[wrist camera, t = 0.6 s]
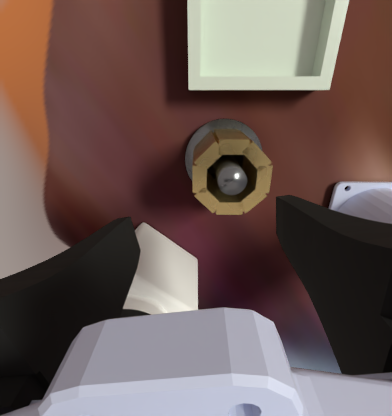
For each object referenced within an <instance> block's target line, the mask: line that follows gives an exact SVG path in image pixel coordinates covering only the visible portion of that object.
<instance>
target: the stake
mask: <svg viewBox="0 0 392 416" xmlns="http://www.w3.org/2000/svg"><path fill="white" fill-rule="evenodd" d="M214 129H238V130H240V131H241V132H243V133H244V134H245V135H246V136H248V137H249V138H250V139H251V140H252V141H254V143H255V144H256V145H257V146H258V147H259V148H260V149H261V151H262V148H261V144H260V141H259V139H258V137H257V136H256V134H255V133H254V132H253V131H252V130H251V129H250V128H249V127H248V126H246V125H245V124H243V123H241V122H239V121H236V120H233V119H217V120H213V121H210V122H208V123H206V124H204V125H203V126H201V127H200V128H199V129H198V130H197V131H196V132H195V133H194V134H193V136H192V137H191V139H190V141H189V143H188V146H187V149H186V154H185V165H186V169H187V172H188V175H189V177H190V179H191V180H192V181H193V173H192V165H193V149H195V146H196V145H197V144H198V143H199V142H200V140H201V139H202V138H203V137H204V136H205V135H206V134H207V133H208V132H209V131H210V130H211V131H212V132H213V133H214ZM242 164H243V155H222V156H221V157H220V158H218V159H217V160H216V161H215V162H214V163H213V164H212V165H211V166H210V167H209V168H208V169H207V171H208V172H209V173H210V174H211V175H212V176H213V177H214V178H215V179H217V181H218V186H219V188H220V190H221V191H222V192H223V193H225V194H227V195H236V194H238V193H240V192H242V191H243V190H244V188H245V187H246V184H247V177H246V175H245V173H244V171H243V170H242Z"/></svg>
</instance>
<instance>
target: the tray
mask: <svg viewBox="0 0 392 416" xmlns="http://www.w3.org/2000/svg"><path fill="white" fill-rule="evenodd" d="M348 3H349V0H187V10H188V89H189V91H204V90H330V85H331V80H332V76H333V71H334V67H335V62H336V58H337V53H338V49H339V44H340V39H341V35H342V30H343V26H344V21H345V17H346V12H347V8H348Z"/></svg>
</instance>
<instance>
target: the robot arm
mask: <svg viewBox="0 0 392 416" xmlns="http://www.w3.org/2000/svg"><path fill="white" fill-rule="evenodd" d="M346 186H348V188H347V189H346V190H345V187H346ZM276 233H277V236H278V239H279V241H280V244H281V246H282V248H283V251H284V252H285V254H286V256H287V257H288V259H289V261H290V263H291V264H292V266H293V268H294V269H295V271H296V273H297V274H298V276H299V278H300V279H301V281H302V283H303V285H304V286H305V288H306V290H307V292H308V294H309V296H310V298H311V300H312V302H313V305H314V307H315V309H316V311H317V314H318V316H319V318H320V321H321V323H322V325H323V328H324V330H325V332H326V335H327V337H328V340H329V342H330V345H331V347H332V350H333V352H334V355H335V357H336V360H337V362H338V365H339V367H340V370H341V373H342V374H338V373H331V372H324V371H316V370H309V369H302V368H294V367H290V365H289V362H288V359H287V356H286V354H285V351H284V348H283V345H282V342H281V339H280V336H279V334H278V332H277V330H276V327H275V325H274V323H273V322H272V321H270V320H269V319H267V318H265V317H263V316H262V315H260V314H258V313H256V312H255V311H253V310H250V309H240V308H228V307H220V308H211V309H201V310H191V311H182V312H172V313H162V314H153V315H143V316H133V317H123V318H120V317H121V313H122V310H123V306H124V304H125V301H126V298H127V295H128V293H129V290H130V287H131V284H132V282H133V279H134V276H135V273H136V270H137V267H138V263H139V257H140V252H141V249H140V246H139V243H138V240H137V237H136V233H135V230H134V227H133V224H132V221H131V217H124V218H118V219H116V220H114V221H112V222H110V223H109V224H107V225H106V226H104V227H102V228H101V229H99V230H98V231H96V232H95V233H93V234H92V235H90V236H89V237H87V238H85V239H84V240H82V241H80V242H79V243H77V244H76V245H74V246H72V247H71V248H69V249H67V250H65V251H64V252H62V253H60V254H58V255H56V256H54V257H52V258H50V259H48V260H46V261H44V262H42V263H39V264H37V265H35V266H32V267H30V268H28V269H26V270H23V271H21V272H18V273H16V274H13V275H10V276H8V277H5V278H2V279H0V416H392V182H339V183H337V184H336V185H335V186H334V190H333V193H332V197H331V201H330V204H329V208H325V207H323V206H320V205H317V204H314V203H312V202H309V201H306V200H304V199H301V198H298V197H295V196H292V195H286V196H278V197H276Z"/></svg>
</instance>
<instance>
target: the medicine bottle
mask: <svg viewBox="0 0 392 416" xmlns="http://www.w3.org/2000/svg"><path fill="white" fill-rule="evenodd" d="M135 233H136V237H137V240H138V243H139V246H140V249H141V252H140V257H139V263H138V267H137V270H136V273H135V276H134V279H133V282H132V284H131V287H130V290H129V293H128V295H127V298H126V301H125V304H124V306H123V310H122V313H121V317H120V318H123V317H133V316H143V315H153V314H162V313H172V312H182V311H191V310H198V260H197V259H196V258H195V257H194V256H192V255H191V254H189V253H188V252H187V251H185V250H184V249H182V248H181V247H179V246H178V245H177V244H175V243H174V242H172V241H171V240H169V239H168V238H167V237H165V236H164V235H162V234H161V233H159V232H158V231H156V230H155V229H154V228H152V227H151V226H149V225H148V224H146V223H141V224H140V225H139V226H138V227H137V229H136V230H135Z"/></svg>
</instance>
